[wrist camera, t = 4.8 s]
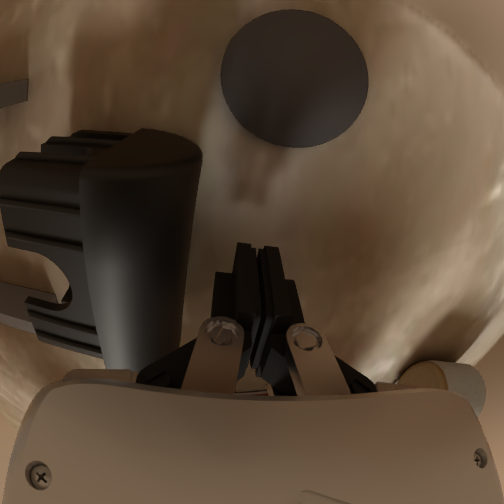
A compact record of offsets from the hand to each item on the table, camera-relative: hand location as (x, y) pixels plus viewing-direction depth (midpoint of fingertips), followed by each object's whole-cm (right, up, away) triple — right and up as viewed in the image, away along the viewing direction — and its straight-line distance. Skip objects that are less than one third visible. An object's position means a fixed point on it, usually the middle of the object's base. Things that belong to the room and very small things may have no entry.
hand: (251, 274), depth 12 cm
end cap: (-6, +3, +2) cm, 7 cm away
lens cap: (+2, +9, -1) cm, 9 cm away
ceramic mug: (+18, -12, +13) cm, 25 cm away
